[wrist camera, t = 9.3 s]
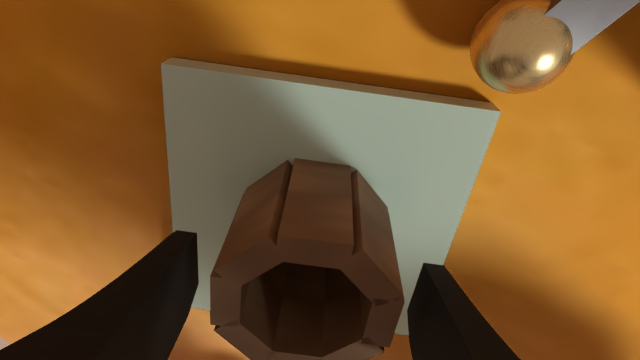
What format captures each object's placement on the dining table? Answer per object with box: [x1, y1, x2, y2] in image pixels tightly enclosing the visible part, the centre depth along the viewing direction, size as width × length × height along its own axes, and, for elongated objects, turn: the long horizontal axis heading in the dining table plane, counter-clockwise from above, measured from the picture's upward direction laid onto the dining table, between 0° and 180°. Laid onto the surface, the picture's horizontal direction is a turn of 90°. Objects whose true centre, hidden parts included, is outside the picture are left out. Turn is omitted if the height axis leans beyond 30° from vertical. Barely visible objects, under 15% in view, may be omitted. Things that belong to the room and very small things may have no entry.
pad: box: [161, 57, 501, 336], centre depth 14 cm, size 10×10×1 cm
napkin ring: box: [210, 158, 405, 360], centre depth 12 cm, size 5×5×4 cm
